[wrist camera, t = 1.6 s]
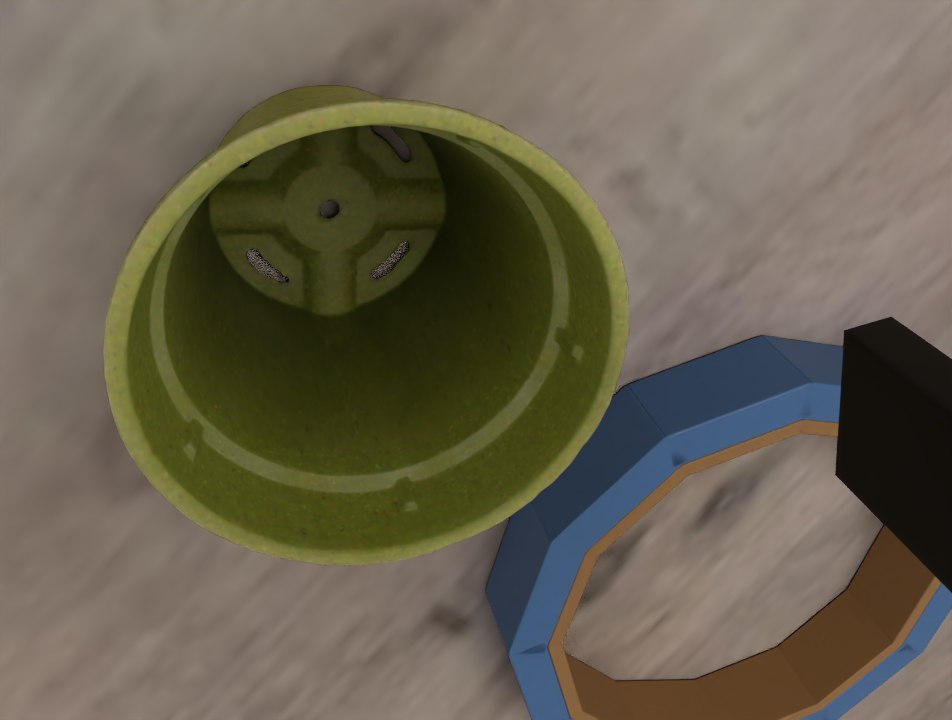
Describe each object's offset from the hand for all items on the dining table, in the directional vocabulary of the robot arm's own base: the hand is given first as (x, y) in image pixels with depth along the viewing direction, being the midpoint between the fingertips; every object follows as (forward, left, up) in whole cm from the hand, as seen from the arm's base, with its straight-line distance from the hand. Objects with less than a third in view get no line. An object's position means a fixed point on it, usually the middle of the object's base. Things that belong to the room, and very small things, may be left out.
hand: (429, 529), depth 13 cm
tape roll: (+1, +20, -13) cm, 24 cm away
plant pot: (0, 0, -13) cm, 13 cm away
